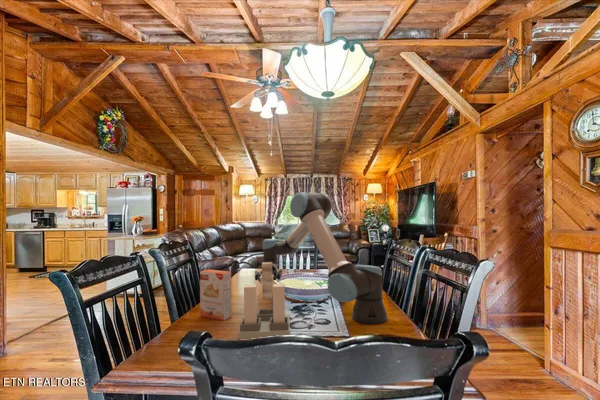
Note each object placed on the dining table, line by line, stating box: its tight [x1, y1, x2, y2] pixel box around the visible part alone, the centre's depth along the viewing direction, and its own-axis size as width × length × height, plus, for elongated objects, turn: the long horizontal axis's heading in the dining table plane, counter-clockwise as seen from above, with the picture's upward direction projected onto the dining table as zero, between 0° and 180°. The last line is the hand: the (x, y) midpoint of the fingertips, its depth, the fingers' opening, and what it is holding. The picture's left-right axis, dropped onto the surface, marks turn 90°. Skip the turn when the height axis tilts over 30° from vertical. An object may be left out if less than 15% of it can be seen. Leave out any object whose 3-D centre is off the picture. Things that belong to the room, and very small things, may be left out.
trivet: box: [285, 295, 329, 304], centre depth 176 cm, size 25×25×2 cm
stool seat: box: [238, 283, 291, 340], centre depth 127 cm, size 19×19×19 cm
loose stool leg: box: [261, 262, 273, 300], centre depth 146 cm, size 4×4×16 cm
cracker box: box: [199, 269, 233, 322], centre depth 144 cm, size 14×6×21 cm, turn 62°
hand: (266, 280), depth 140 cm, fingers closed on loose stool leg, 4 cm apart
